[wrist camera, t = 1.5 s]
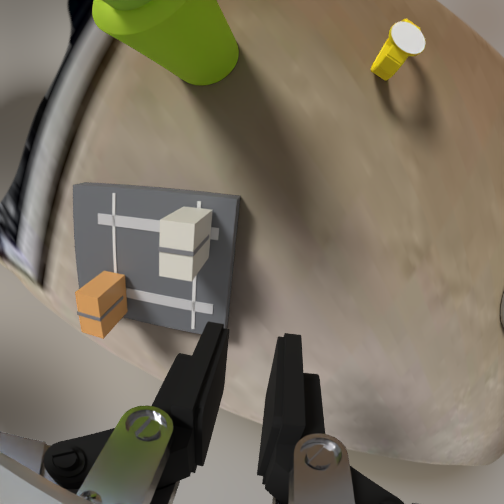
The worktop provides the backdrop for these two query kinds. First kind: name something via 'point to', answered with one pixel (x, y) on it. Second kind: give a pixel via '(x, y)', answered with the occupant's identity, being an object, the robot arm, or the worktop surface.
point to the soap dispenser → (173, 35)
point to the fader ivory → (184, 242)
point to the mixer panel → (154, 251)
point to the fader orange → (102, 303)
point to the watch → (398, 48)
